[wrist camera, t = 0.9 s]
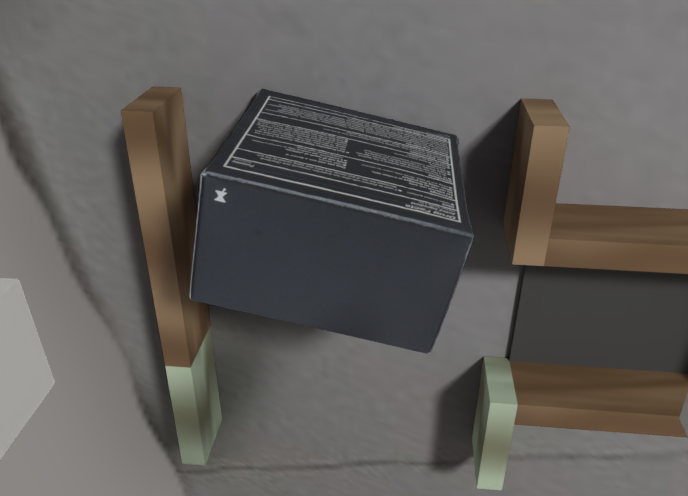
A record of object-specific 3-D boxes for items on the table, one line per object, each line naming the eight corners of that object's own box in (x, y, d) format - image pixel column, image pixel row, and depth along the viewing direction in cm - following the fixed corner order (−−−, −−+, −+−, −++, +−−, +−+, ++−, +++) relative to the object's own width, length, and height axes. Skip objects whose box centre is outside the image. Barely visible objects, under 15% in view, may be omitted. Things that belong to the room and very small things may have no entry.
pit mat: (530, 227, 34) (531, 230, 34) (764, 239, 33) (767, 242, 33) (508, 358, 39) (509, 361, 38) (714, 372, 38) (716, 375, 37)
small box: (241, 198, 35) (180, 307, 26) (257, 84, 32) (194, 163, 23) (427, 242, 35) (430, 364, 26) (461, 133, 32) (479, 230, 23)
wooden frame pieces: (152, 86, 32) (120, 110, 29) (848, 109, 30) (906, 138, 26) (200, 417, 44) (182, 463, 40) (707, 457, 41) (733, 509, 37)
